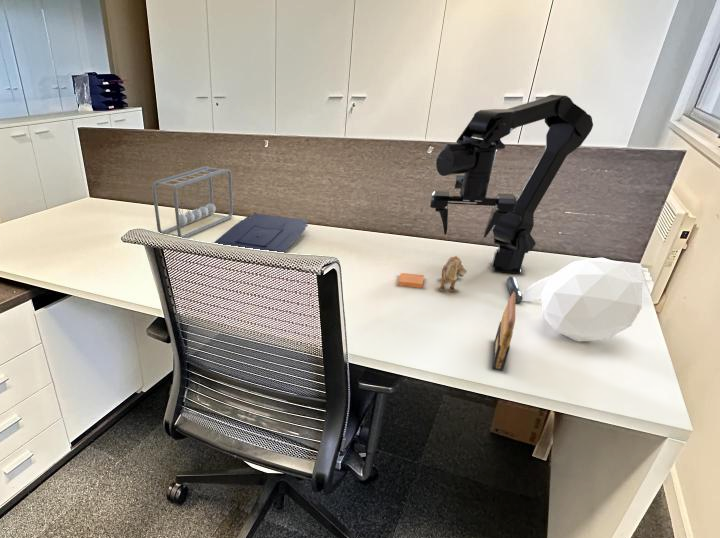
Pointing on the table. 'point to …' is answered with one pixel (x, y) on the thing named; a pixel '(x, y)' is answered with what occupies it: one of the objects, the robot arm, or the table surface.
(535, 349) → the table surface
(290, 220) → the navy blue flat slab
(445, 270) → the lion figurine
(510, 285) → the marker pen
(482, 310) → the table surface
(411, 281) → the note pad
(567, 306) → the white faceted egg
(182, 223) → the newton's cradle
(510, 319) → the ammunition clip
